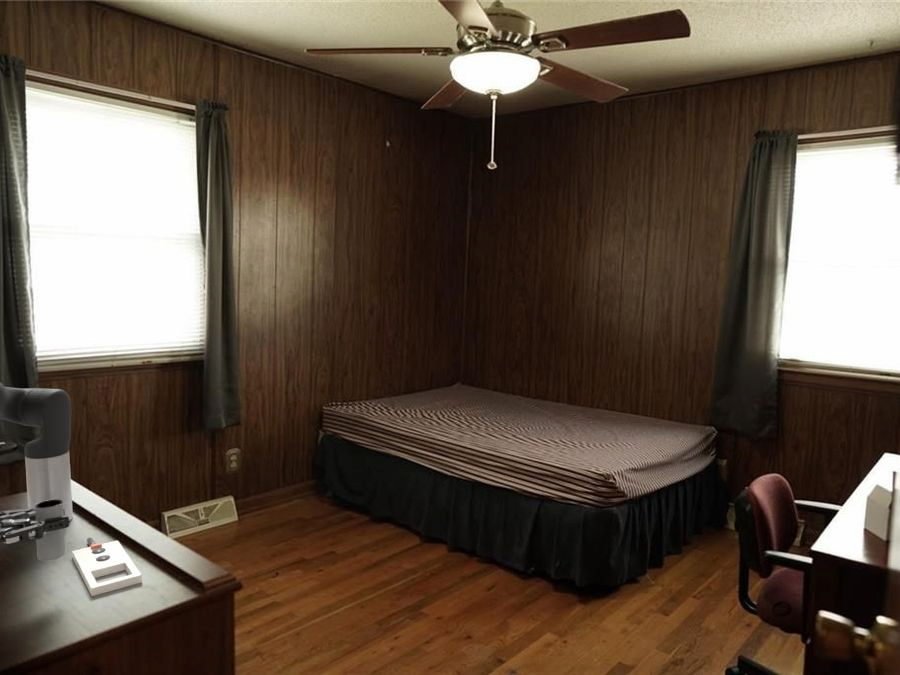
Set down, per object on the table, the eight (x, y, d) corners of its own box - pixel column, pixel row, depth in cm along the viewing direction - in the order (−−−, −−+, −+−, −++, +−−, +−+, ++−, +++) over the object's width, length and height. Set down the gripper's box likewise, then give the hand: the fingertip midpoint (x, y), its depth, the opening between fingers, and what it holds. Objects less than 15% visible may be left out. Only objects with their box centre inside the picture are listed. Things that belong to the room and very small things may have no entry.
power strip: (67, 547, 145) (66, 538, 145) (111, 537, 151) (111, 528, 151) (91, 596, 124) (91, 585, 124) (141, 582, 130) (141, 572, 130)
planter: (70, 552, 125) (68, 501, 124) (49, 562, 121) (47, 509, 120) (53, 548, 126) (51, 497, 125) (31, 558, 122) (29, 505, 121)
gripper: (-45, 531, 108) (72, 509, 119) (-48, 506, 119) (59, 487, 130) (-42, 574, 109) (74, 548, 119) (-46, 545, 120) (61, 523, 130)
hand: (65, 517), depth 124 cm, fingers closed on planter, 4 cm apart
